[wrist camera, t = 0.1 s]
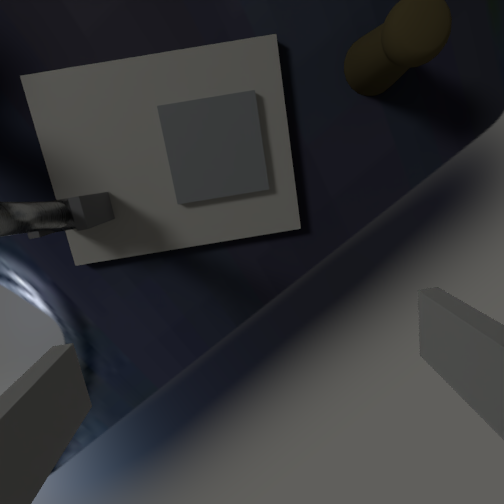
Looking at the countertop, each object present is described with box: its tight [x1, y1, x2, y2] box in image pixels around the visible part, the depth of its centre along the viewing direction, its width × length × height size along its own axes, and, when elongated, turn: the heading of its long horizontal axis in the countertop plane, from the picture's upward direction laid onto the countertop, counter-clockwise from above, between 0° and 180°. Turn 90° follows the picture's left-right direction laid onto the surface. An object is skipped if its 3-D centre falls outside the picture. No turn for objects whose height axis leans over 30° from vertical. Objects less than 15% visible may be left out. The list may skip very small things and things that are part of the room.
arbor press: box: [20, 34, 301, 266], centre depth 34 cm, size 20×26×8 cm
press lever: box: [0, 198, 76, 237], centre depth 24 cm, size 4×4×20 cm
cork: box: [344, 0, 452, 96], centre depth 31 cm, size 6×6×11 cm
